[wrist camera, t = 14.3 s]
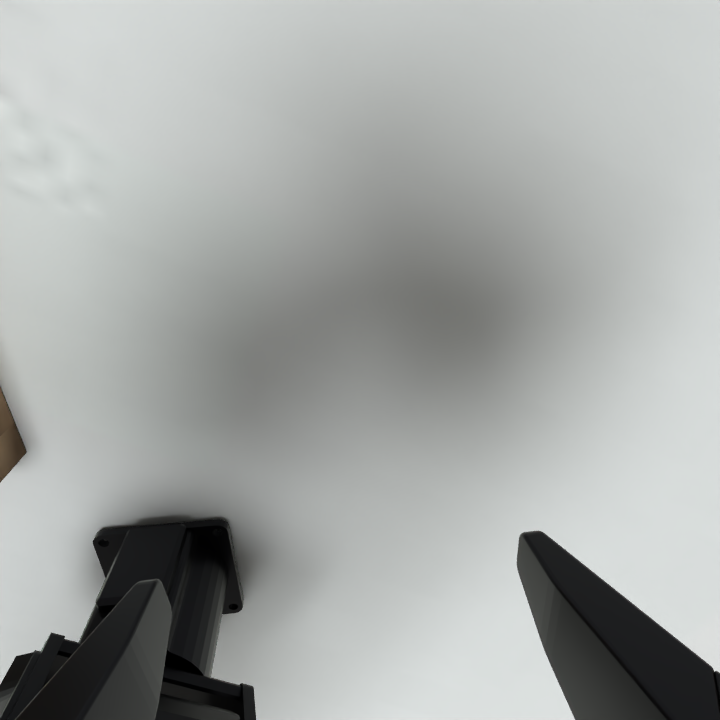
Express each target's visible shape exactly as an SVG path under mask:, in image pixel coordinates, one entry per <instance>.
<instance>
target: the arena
mask: <svg viewBox="0 0 720 720" xmlns="http://www.w3.org/2000/svg"><path fill="white" fill-rule="evenodd" d="M25 454H26V450H25V447H24V445H23V442H22V440H21V437H20V435H19V432H18V430H17V428H16V425H15V423H14V420H13V418H12V415H11V413H10V410H9V408H8V406H7V403H6V401H5V398H4V396H3V393H2V391H1V388H0V482H1V481H2V480H3V479H4V478H5V476H6V475H7V474H8V473H9V472H10V471H11V470H12V468H13V467H14V466H15V465H16V464H17V463H18V462H19V460H20V459H21V458H22V457H23V456H24V455H25Z"/></svg>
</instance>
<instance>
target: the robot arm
mask: <svg viewBox="0 0 720 720" xmlns="http://www.w3.org/2000/svg"><path fill="white" fill-rule="evenodd" d="M216 529H220V531H219V530H216ZM103 539H105V540H103ZM106 540H107V541H106ZM93 545H94V548H95V550H96V553H97V556H98V558H99V561H100V564H101V566H102V569H103V572H104V574H105V577H106V579H105V582H104V584H103V586H102V588H101V590H100V593H99V595H98V597H97V599H96V605H95V607H94V609H93V611H92V614H91V616H90V618H89V620H88V622H87V625H86V627H85V629H84V631H83V634H82V636H81V638H80V640H79V642H74V641H70V640H67V639H64V638H65V636H62V635H59V634H55V633H51V634H50V636H49V637H48V639H47V641H46V643H45V645H44V646H43V648H42V650H41V652H40V651H36V650H35V651H34V652H33V653H28V654H24V655H20V656H16V658H15V659H14V661H13V663H12V665H11V667H10V668H9V670H8V672H7V674H6V676H5V677H4V679H3V681H2V683H1V685H0V720H256V713H255V701H254V688H253V686H250V685H246V684H242V683H241V684H240V685H237V684H233V683H229V682H225V681H222V680H218V679H214V678H211V673H212V667H213V661H214V656H215V650H216V645H217V639H218V634H219V628H220V623H221V617H222V614H228V613H236V612H239V611H241V610H242V608H243V600H244V599H243V594H242V589H241V584H240V579H239V574H238V568H237V563H236V558H235V553H234V548H233V543H232V538H231V533H230V528H229V525H228V523H227V522H226V521H224V520H219V519H216V520H205V521H194V522H183V523H171V524H160V525H149V526H137V527H126V528H115V529H104V530H100V531H99V532H97V534H96V536H95V538H94V540H93ZM517 568H518V573H519V576H520V579H521V582H522V585H523V588H524V591H525V594H526V597H527V600H528V603H529V606H530V609H531V612H532V615H533V618H534V621H535V624H536V627H537V630H538V633H539V636H540V639H541V642H542V645H543V647H544V650H545V653H546V655H547V657H548V660H549V662H550V664H551V667H552V669H553V671H554V673H555V676H556V678H557V680H558V682H559V685H560V687H561V689H562V691H563V693H564V696H565V698H566V700H567V702H568V705H569V707H570V709H571V711H572V714H573V716H574V718H575V720H720V673H719V672H718V671H715V672H714V670H713V668H712V667H711V666H710V665H709V664H708V663H706V662H705V661H704V660H703V659H701V658H700V657H699V656H698V655H696V654H695V653H694V652H693V651H691V650H690V649H689V648H688V647H686V646H685V645H684V644H683V643H681V642H680V641H679V640H678V639H676V638H675V637H674V636H673V635H671V634H670V633H669V632H668V631H666V630H665V629H664V628H663V627H661V626H660V625H659V624H657V623H656V622H655V621H654V620H652V619H651V618H650V617H649V616H647V615H646V614H645V613H644V612H642V611H641V610H640V609H639V608H637V607H636V606H635V605H634V604H632V603H631V602H630V601H629V600H627V599H626V598H625V597H624V596H622V595H621V594H620V593H619V592H617V591H616V590H615V589H614V588H612V587H611V586H610V585H609V584H607V583H606V582H605V581H604V580H602V579H601V578H600V577H599V576H597V575H596V574H595V573H594V572H592V571H591V570H590V569H589V568H587V567H586V566H585V565H584V564H582V563H581V562H580V561H579V560H577V559H576V558H575V557H574V556H572V555H571V554H570V553H569V552H567V551H566V550H565V549H563V548H562V547H561V546H560V545H558V544H557V543H556V542H555V541H553V540H552V539H551V538H550V537H548V536H547V535H546V534H545V533H543V532H541V531H531V532H524V533H521V535H520V537H519V544H518V554H517Z"/></svg>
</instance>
